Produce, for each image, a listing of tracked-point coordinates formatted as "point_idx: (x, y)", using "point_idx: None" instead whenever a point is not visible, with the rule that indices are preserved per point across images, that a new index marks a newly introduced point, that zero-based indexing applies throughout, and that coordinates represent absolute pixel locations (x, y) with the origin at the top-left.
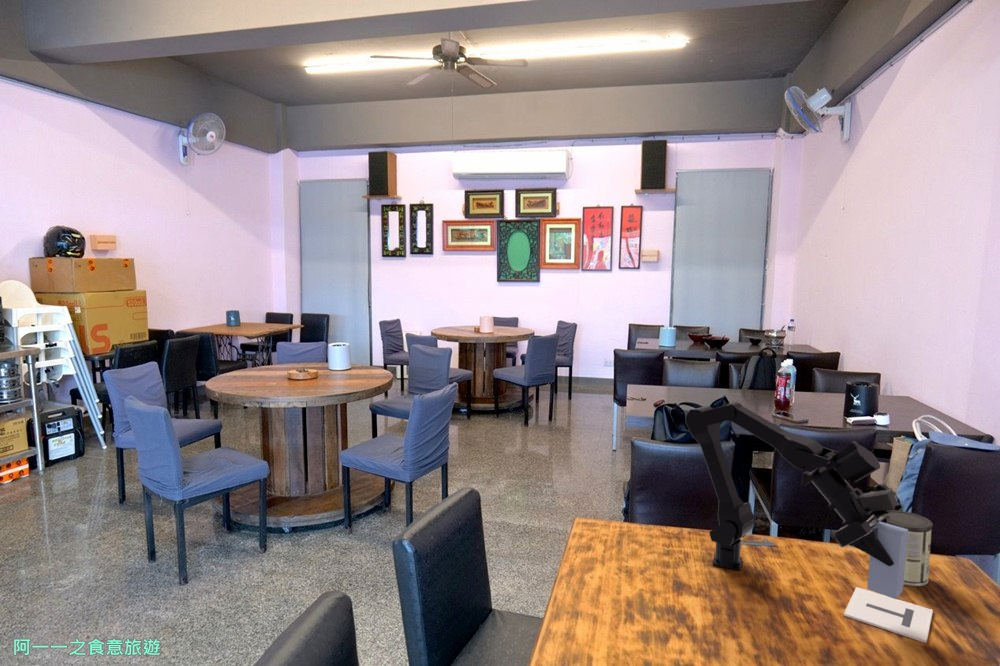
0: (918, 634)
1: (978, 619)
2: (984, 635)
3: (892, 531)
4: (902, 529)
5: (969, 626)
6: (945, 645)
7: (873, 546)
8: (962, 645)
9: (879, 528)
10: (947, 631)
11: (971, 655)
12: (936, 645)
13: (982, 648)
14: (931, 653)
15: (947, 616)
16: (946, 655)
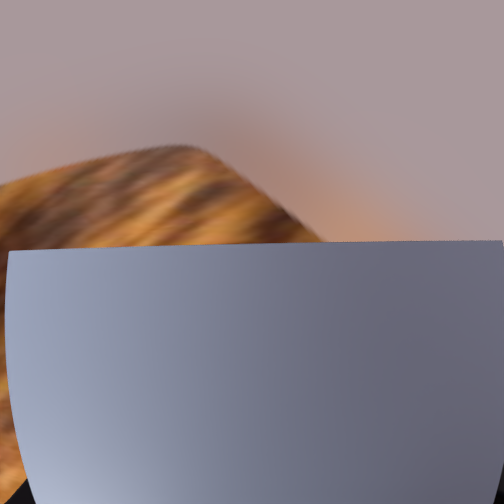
0: None
1: (39, 192)
2: (103, 167)
3: (436, 431)
4: (92, 347)
5: (81, 196)
6: (220, 213)
7: None
8: (188, 187)
9: None
10: (142, 224)
11: (220, 167)
12: (238, 227)
13: (168, 158)
14: (286, 227)
15: (65, 242)
16: (266, 203)
